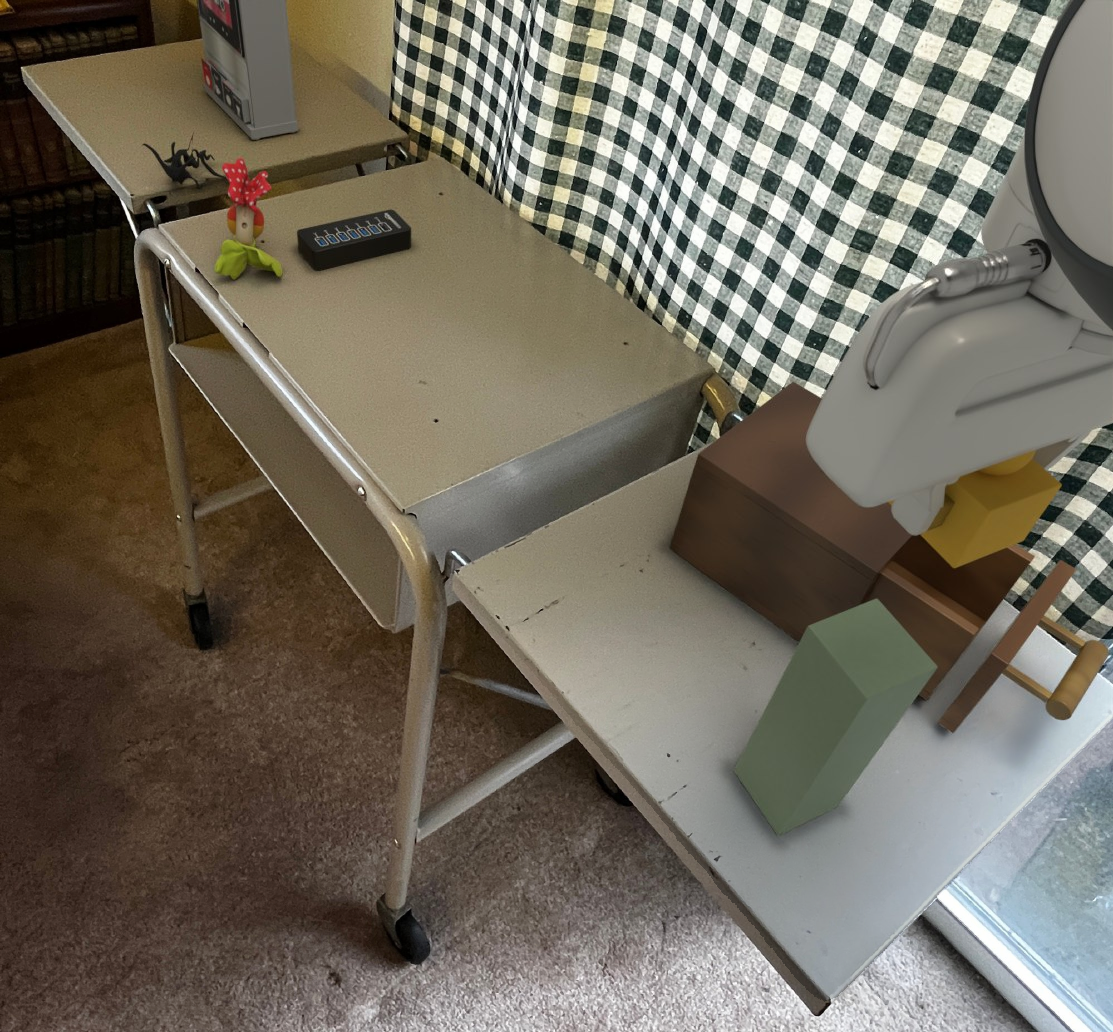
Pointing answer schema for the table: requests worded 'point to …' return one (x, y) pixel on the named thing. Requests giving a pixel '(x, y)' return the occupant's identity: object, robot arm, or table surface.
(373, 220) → the multiport hub
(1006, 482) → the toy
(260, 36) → the cassette tape recorder
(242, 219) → the multicoloured upright piece
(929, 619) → the drawer
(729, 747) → the table surface
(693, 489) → the cabinet
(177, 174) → the creature
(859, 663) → the green rectangular block
